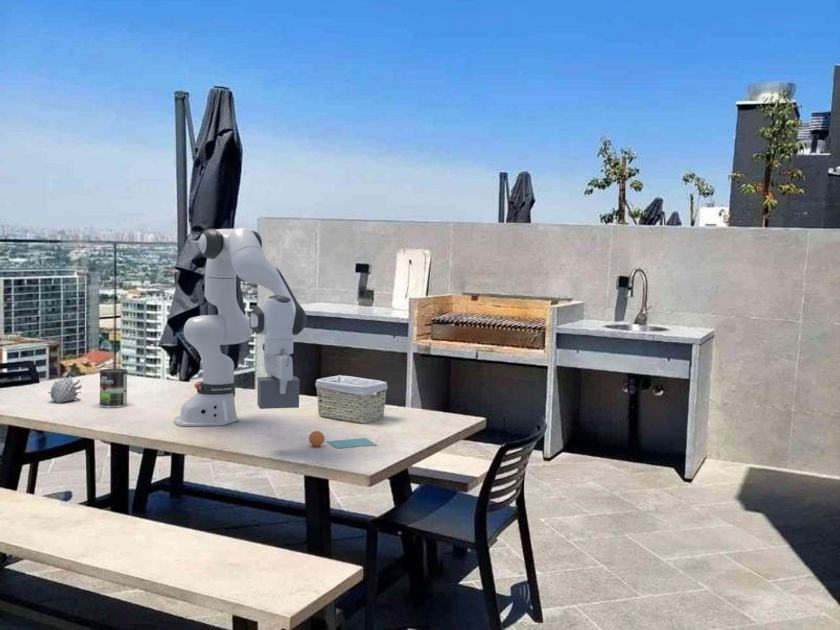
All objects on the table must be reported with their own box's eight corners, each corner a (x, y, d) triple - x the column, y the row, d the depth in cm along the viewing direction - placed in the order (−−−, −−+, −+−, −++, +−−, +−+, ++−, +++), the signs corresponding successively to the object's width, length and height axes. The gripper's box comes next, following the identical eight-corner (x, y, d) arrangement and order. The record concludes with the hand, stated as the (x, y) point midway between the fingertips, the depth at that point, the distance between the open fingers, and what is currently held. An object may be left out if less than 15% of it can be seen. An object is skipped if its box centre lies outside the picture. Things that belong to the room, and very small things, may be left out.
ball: (311, 448, 249) (311, 433, 248) (306, 445, 253) (307, 430, 253) (326, 447, 251) (326, 432, 250) (321, 444, 255) (321, 428, 255)
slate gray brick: (259, 408, 240) (260, 380, 239) (257, 404, 247) (257, 377, 246) (299, 407, 244) (299, 379, 243) (295, 403, 251) (295, 376, 250)
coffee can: (114, 408, 303) (114, 372, 302) (93, 406, 306) (93, 370, 305) (133, 404, 312) (133, 369, 311) (113, 402, 316) (113, 367, 315)
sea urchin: (45, 408, 312) (74, 411, 311) (41, 384, 307) (69, 387, 306) (61, 393, 322) (89, 396, 321) (57, 370, 318) (85, 373, 316)
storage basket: (388, 418, 299) (389, 380, 298) (363, 425, 286) (364, 385, 284) (339, 410, 312) (340, 374, 311) (313, 417, 298) (313, 379, 297)
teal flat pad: (336, 448, 250) (336, 448, 250) (326, 441, 259) (326, 441, 259) (376, 445, 256) (376, 444, 256) (365, 438, 265) (365, 438, 265)
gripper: (298, 351, 236) (297, 396, 237) (280, 344, 255) (279, 385, 255) (278, 351, 233) (277, 397, 234) (261, 344, 252) (260, 386, 253)
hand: (278, 391), depth 245 cm, fingers closed on slate gray brick, 7 cm apart
